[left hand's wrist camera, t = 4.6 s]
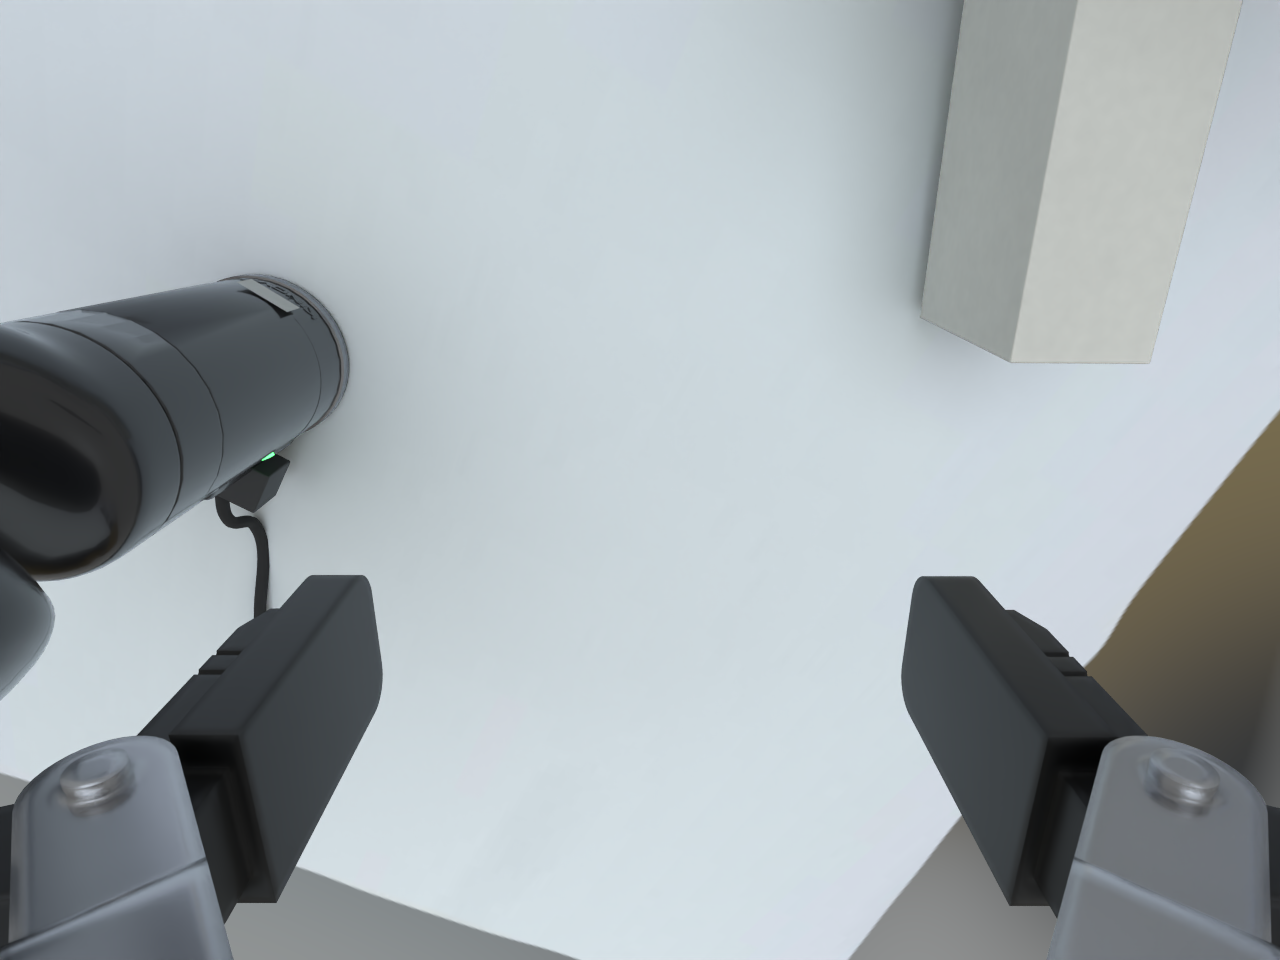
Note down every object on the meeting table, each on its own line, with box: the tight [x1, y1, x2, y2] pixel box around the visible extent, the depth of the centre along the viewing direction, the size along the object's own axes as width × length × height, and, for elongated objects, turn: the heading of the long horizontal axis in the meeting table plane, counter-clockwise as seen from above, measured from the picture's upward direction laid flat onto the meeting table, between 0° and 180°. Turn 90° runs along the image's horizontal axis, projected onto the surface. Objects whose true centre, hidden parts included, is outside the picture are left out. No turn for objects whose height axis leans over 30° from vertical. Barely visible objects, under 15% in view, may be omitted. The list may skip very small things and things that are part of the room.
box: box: [920, 0, 1243, 364], centre depth 32 cm, size 24×6×11 cm, turn 0°
